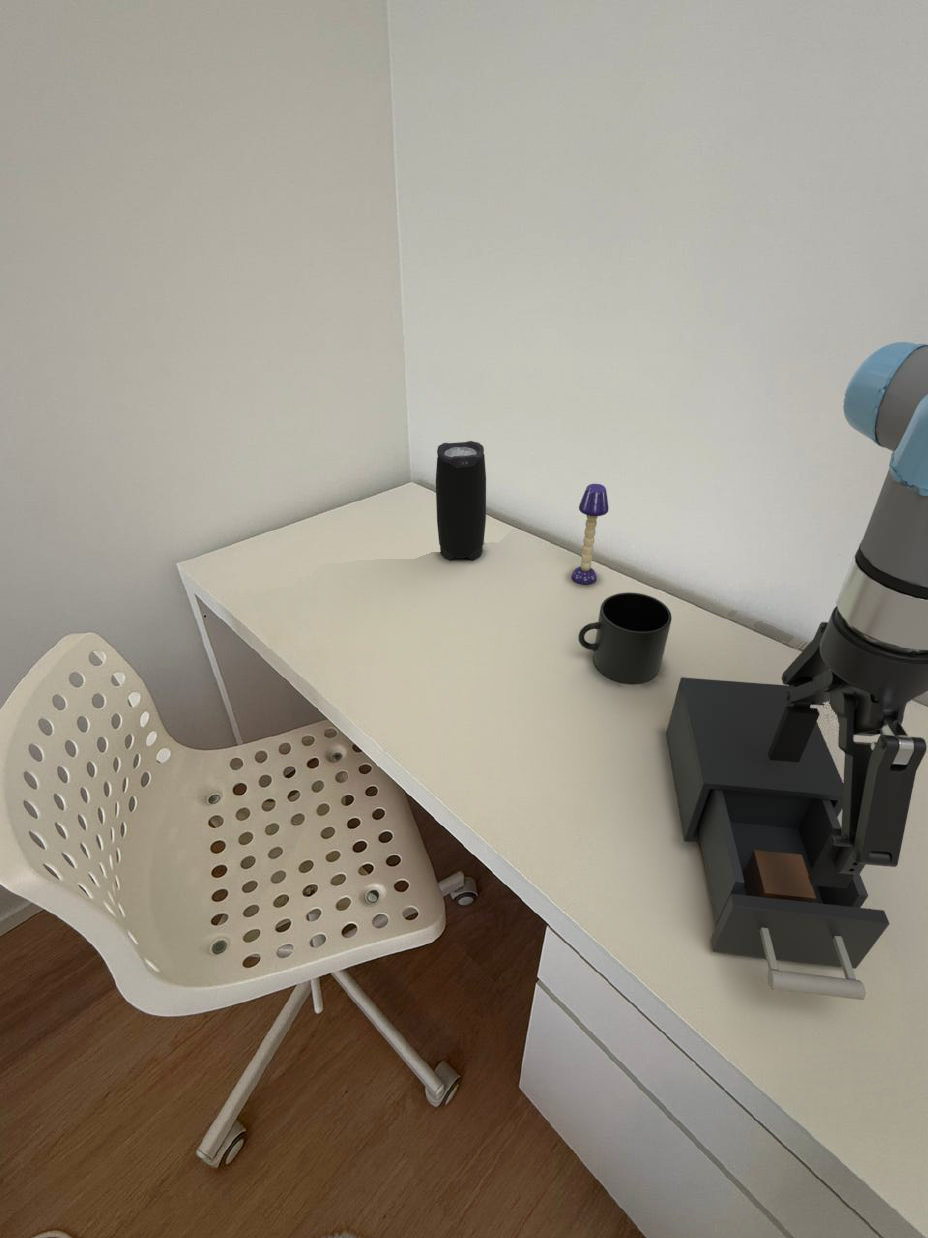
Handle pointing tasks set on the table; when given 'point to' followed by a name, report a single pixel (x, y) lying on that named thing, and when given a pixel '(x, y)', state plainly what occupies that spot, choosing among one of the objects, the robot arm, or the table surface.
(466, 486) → the portable speaker
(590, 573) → the toy lamp
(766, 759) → the cabinet
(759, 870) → the block
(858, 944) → the drawer
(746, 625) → the table surface
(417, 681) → the table surface
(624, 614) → the mug
